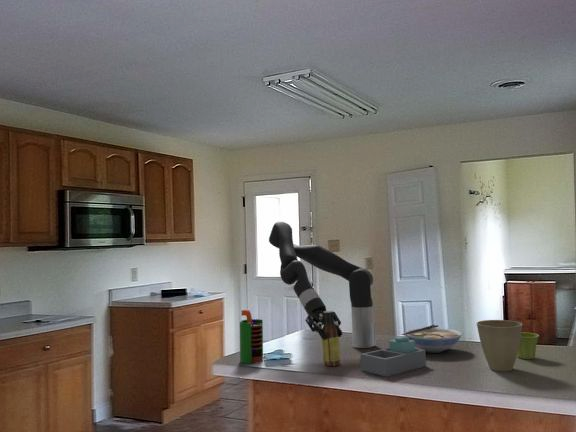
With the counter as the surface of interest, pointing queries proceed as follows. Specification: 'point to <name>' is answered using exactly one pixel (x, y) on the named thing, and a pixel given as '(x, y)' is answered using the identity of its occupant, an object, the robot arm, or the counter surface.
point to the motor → (251, 339)
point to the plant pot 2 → (527, 345)
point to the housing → (392, 361)
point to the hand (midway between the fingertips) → (333, 337)
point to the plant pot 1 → (500, 342)
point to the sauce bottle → (330, 340)
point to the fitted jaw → (402, 345)
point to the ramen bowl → (433, 338)
